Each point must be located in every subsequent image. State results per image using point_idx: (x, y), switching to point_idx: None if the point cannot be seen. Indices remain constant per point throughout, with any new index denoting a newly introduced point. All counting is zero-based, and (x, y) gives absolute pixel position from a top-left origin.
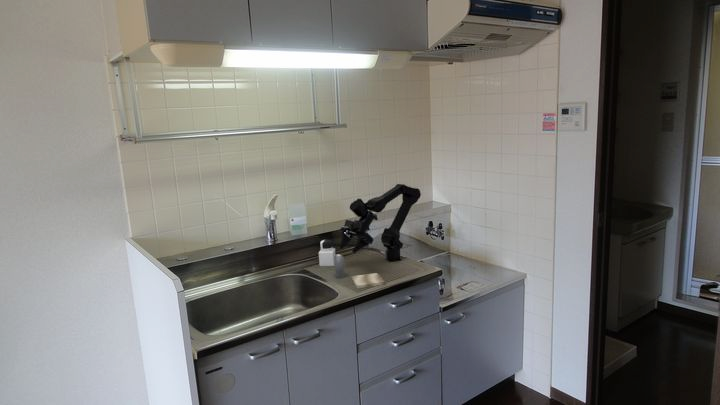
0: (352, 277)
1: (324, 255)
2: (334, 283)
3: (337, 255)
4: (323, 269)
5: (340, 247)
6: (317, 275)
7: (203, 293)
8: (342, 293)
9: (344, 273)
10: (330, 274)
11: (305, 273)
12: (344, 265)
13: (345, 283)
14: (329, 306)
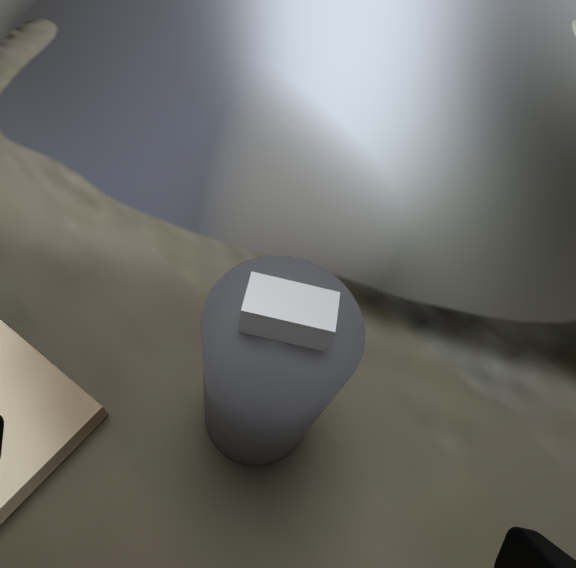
0: (69, 388)
1: None
2: (192, 268)
3: (299, 283)
4: (545, 487)
5: (524, 536)
6: (440, 336)
7: (572, 23)
8: (21, 163)
9: (205, 415)
10: (376, 410)
11: (545, 325)
12: (217, 413)
13: (102, 304)
14: (11, 41)
